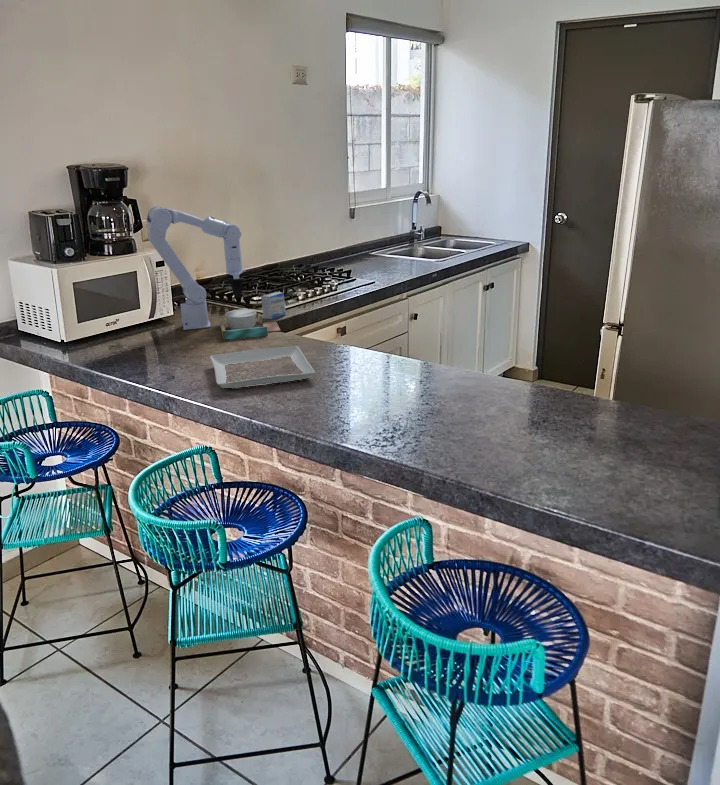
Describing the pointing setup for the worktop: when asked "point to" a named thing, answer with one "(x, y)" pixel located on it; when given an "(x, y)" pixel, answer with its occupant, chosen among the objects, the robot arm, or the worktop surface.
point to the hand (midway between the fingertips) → (237, 295)
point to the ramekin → (241, 319)
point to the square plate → (260, 355)
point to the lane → (249, 330)
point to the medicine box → (273, 305)
